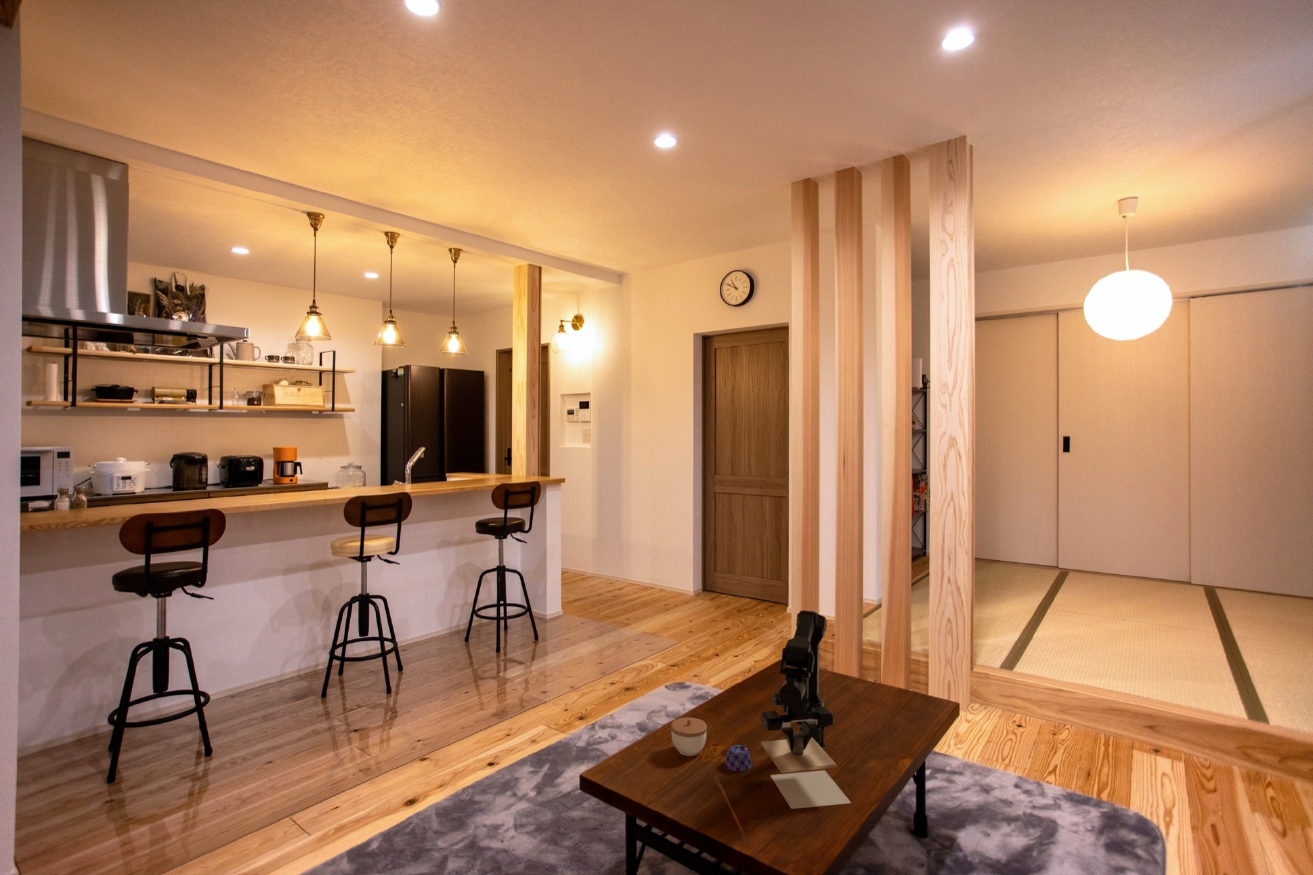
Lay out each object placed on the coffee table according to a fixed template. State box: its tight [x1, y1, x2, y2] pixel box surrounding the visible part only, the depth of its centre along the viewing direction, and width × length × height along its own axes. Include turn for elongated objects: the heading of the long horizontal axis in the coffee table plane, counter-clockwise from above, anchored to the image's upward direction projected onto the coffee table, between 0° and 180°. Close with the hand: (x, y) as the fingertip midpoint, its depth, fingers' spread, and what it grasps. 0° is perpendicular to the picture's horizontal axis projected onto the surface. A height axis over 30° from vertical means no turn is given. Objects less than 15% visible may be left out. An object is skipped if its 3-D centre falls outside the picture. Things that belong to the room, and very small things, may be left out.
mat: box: [770, 769, 852, 810], centre depth 169 cm, size 16×16×1 cm
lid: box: [760, 732, 837, 774], centre depth 171 cm, size 15×15×5 cm
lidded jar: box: [670, 717, 708, 757], centre depth 191 cm, size 11×11×9 cm
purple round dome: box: [724, 744, 753, 773], centre depth 182 cm, size 12×12×5 cm
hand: (797, 749), depth 171 cm, fingers closed on lid, 3 cm apart
